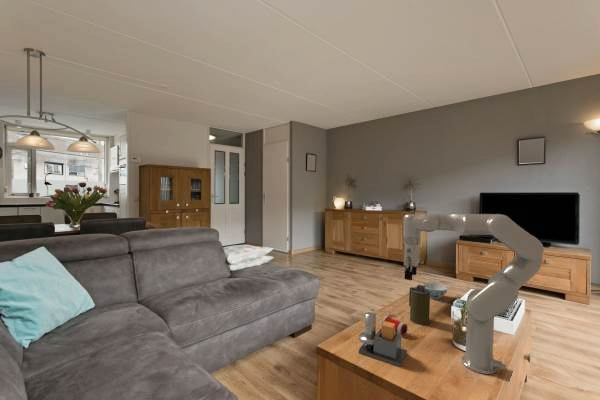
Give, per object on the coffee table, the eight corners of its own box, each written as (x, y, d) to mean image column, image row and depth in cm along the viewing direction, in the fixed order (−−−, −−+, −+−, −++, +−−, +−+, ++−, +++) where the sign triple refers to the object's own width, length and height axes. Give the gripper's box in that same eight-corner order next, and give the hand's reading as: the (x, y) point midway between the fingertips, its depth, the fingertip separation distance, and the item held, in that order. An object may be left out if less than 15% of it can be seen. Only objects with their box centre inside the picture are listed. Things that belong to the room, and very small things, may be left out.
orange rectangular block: (394, 350, 128) (395, 323, 127) (391, 355, 124) (392, 327, 124) (384, 347, 130) (385, 321, 130) (381, 351, 126) (382, 324, 126)
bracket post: (406, 353, 128) (407, 318, 128) (400, 366, 118) (401, 328, 118) (363, 340, 139) (364, 307, 138) (354, 351, 129) (355, 316, 128)
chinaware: (429, 292, 209) (429, 281, 209) (450, 298, 198) (450, 287, 198) (418, 296, 199) (419, 285, 199) (440, 303, 188) (441, 291, 188)
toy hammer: (378, 347, 133) (378, 334, 133) (359, 337, 143) (359, 324, 142) (407, 334, 146) (408, 322, 146) (388, 325, 156) (389, 313, 156)
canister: (432, 320, 162) (433, 285, 161) (425, 326, 154) (426, 289, 154) (413, 314, 169) (414, 281, 169) (405, 320, 162) (406, 285, 161)
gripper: (416, 244, 125) (415, 283, 125) (423, 239, 139) (422, 274, 140) (398, 242, 129) (397, 280, 129) (407, 237, 143) (406, 271, 144)
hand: (410, 277), depth 134 cm, fingers open, 9 cm apart
